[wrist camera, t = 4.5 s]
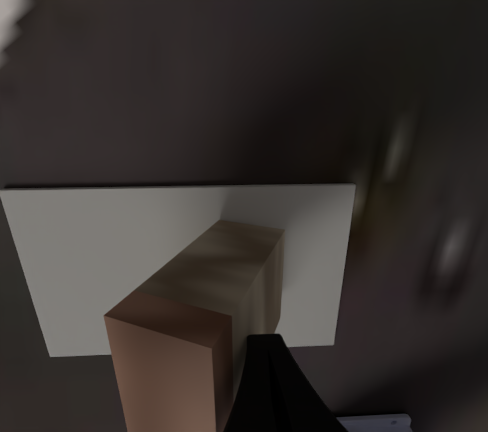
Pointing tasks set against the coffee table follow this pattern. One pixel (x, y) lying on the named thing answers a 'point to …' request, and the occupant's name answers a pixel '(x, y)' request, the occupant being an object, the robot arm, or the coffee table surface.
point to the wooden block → (196, 328)
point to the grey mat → (170, 250)
